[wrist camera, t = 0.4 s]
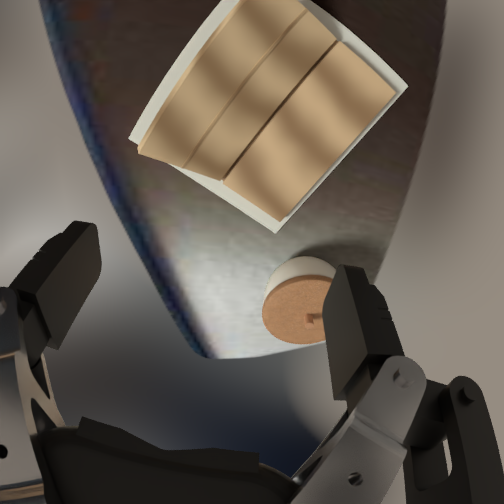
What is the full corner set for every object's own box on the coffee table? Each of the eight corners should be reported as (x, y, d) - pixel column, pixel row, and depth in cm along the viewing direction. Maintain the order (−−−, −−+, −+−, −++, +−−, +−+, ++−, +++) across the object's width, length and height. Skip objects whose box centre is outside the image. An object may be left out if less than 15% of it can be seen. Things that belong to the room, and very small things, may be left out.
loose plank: (262, -25, 18) (269, -24, 18) (329, 35, 25) (337, 39, 25) (137, 147, 27) (139, 154, 27) (216, 174, 35) (220, 181, 34)
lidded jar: (341, 297, 44) (354, 346, 37) (270, 309, 46) (270, 359, 38) (338, 235, 39) (355, 282, 31) (254, 249, 40) (253, 298, 32)
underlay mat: (253, -35, 21) (253, -35, 21) (407, 86, 28) (408, 86, 27) (129, 138, 32) (128, 138, 32) (275, 232, 39) (275, 233, 39)
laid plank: (334, 39, 26) (336, 38, 24) (392, 91, 28) (396, 92, 27) (220, 177, 35) (219, 181, 34) (279, 217, 37) (280, 222, 36)
